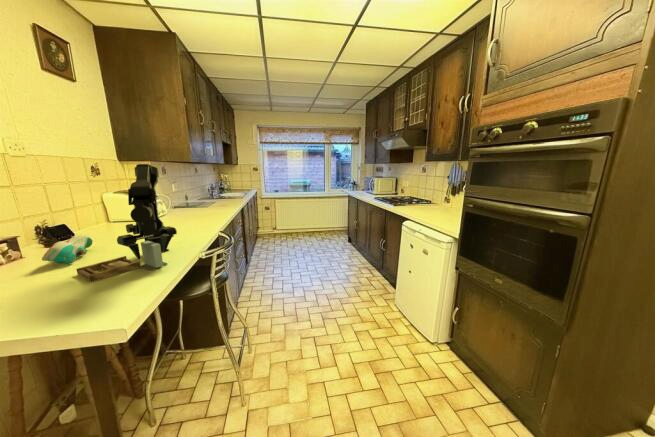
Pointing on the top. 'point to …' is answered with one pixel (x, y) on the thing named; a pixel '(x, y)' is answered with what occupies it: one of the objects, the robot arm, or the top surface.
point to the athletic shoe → (68, 250)
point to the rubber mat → (148, 267)
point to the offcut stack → (117, 264)
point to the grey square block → (152, 254)
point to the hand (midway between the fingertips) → (152, 255)
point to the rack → (106, 269)
